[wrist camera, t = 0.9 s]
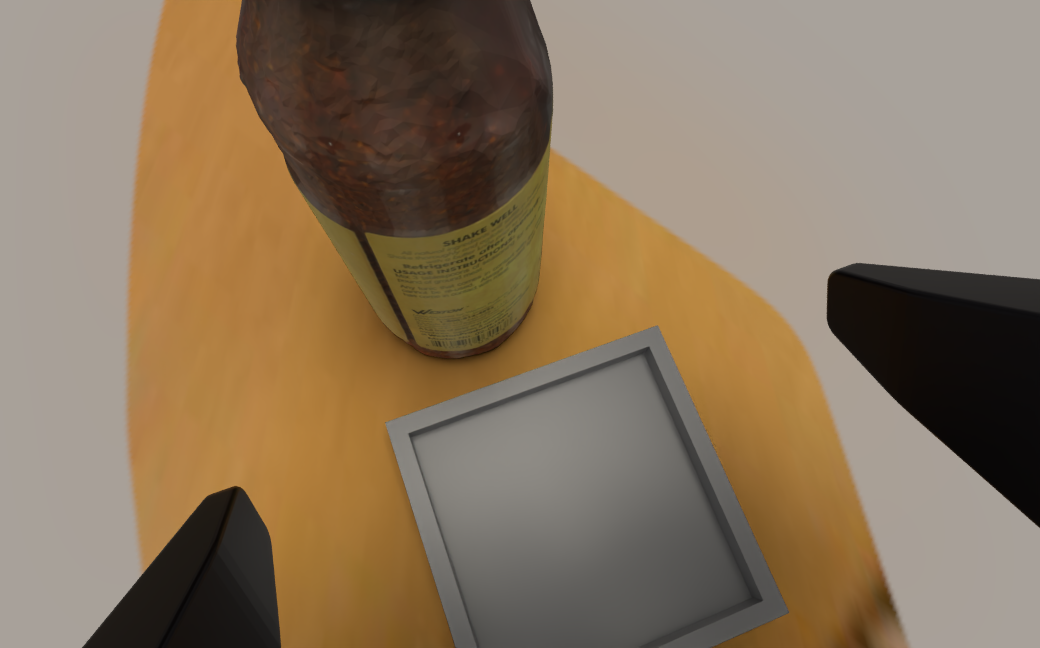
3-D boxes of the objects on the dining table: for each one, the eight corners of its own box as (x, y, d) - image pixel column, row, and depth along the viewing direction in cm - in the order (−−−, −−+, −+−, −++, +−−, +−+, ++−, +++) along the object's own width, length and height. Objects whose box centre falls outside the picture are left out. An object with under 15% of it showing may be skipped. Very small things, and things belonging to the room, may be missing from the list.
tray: (769, 607, 21) (789, 613, 20) (487, 731, 20) (486, 747, 18) (647, 337, 24) (657, 325, 23) (391, 429, 23) (385, 422, 21)
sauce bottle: (561, 251, 25) (773, -604, 6) (493, 393, 23) (502, -206, 4) (411, 187, 26) (188, -773, 7) (333, 321, 24) (-275, -489, 5)
